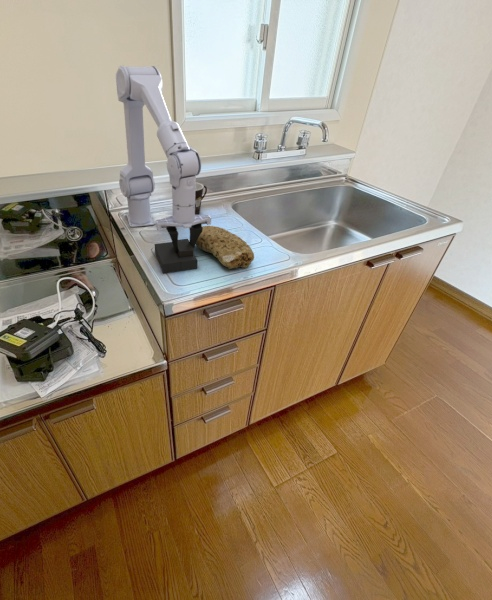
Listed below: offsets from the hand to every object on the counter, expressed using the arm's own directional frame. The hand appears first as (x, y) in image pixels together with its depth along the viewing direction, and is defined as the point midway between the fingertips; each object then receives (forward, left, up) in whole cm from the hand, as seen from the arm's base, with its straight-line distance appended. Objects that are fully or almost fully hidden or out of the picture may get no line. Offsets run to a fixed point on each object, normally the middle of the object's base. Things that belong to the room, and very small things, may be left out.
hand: (183, 249), depth 88 cm
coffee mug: (-29, +12, -3) cm, 32 cm away
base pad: (0, -2, -3) cm, 4 cm away
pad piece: (0, 0, -1) cm, 1 cm away
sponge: (0, +11, -3) cm, 12 cm away
